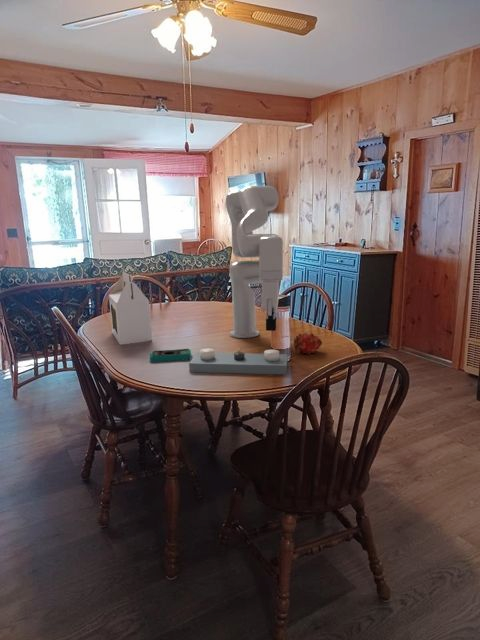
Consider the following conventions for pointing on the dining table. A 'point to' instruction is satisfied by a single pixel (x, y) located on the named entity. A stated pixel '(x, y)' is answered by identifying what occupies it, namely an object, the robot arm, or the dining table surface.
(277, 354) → the knob
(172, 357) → the digital multimeter
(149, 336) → the gable box
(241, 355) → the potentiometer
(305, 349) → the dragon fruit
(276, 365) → the mount board
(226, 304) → the dining table surface
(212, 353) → the knob
